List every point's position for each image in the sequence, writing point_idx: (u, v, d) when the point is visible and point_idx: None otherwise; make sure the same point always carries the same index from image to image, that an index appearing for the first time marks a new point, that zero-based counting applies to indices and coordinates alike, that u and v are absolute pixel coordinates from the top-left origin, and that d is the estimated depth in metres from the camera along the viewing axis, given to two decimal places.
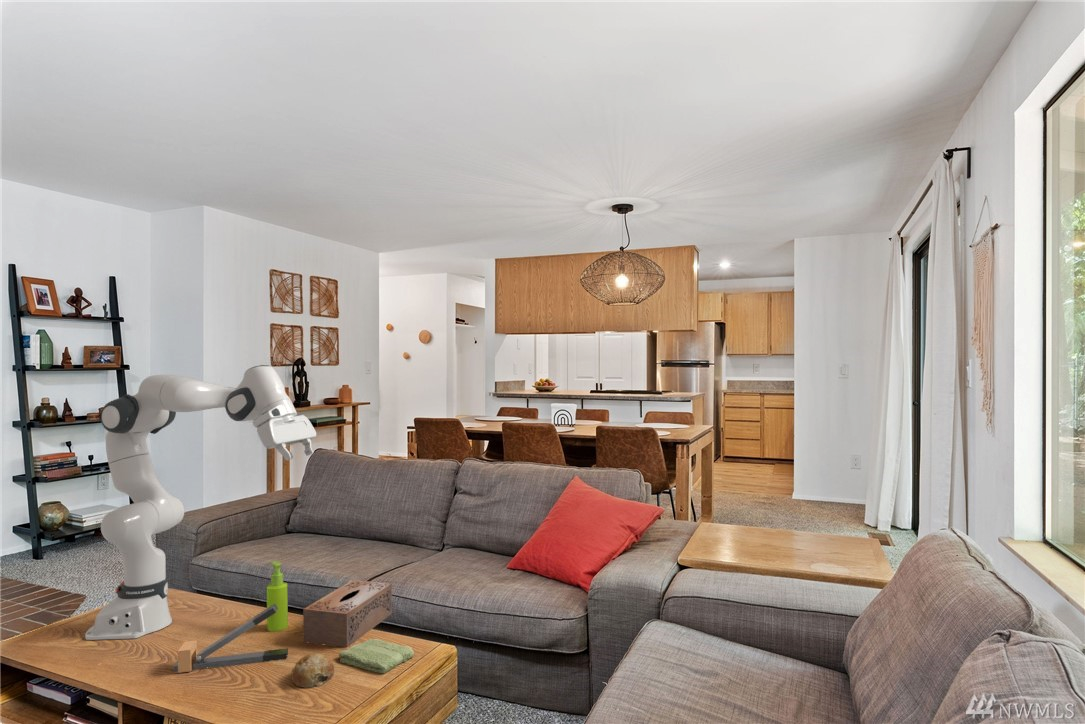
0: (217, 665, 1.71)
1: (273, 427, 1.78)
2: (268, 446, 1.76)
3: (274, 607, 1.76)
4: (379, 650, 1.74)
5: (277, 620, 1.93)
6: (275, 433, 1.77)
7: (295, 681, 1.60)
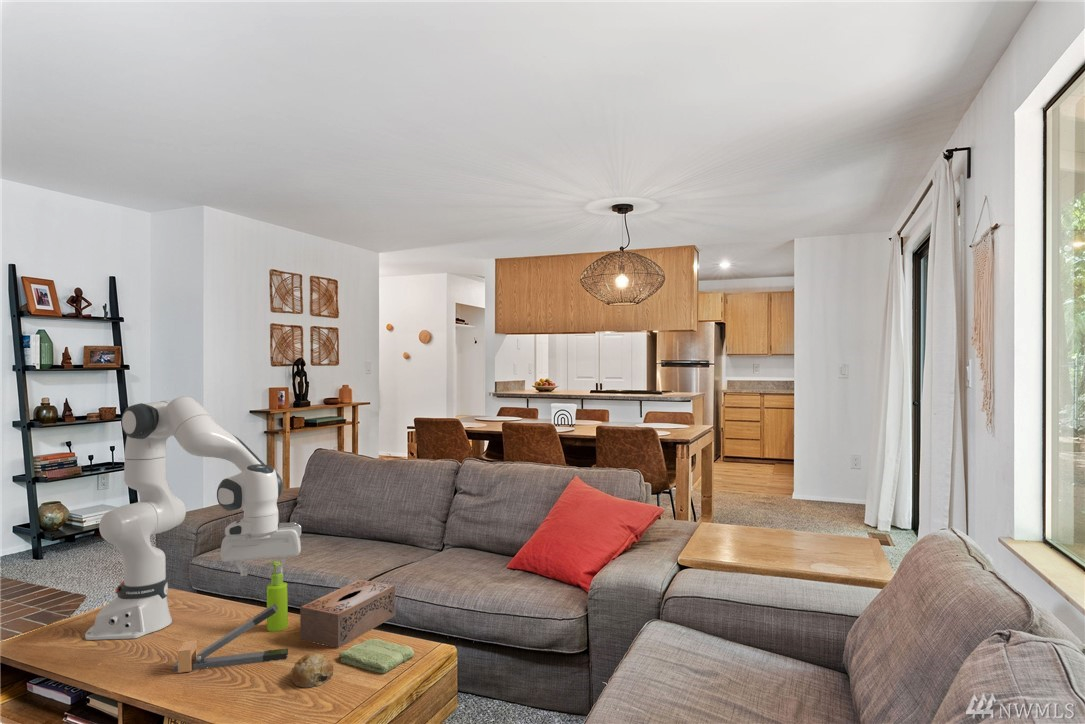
0: (217, 665, 1.71)
1: (229, 543, 1.71)
2: None
3: (274, 607, 1.76)
4: (379, 650, 1.74)
5: (277, 620, 1.93)
6: (227, 551, 1.71)
7: (294, 681, 1.60)
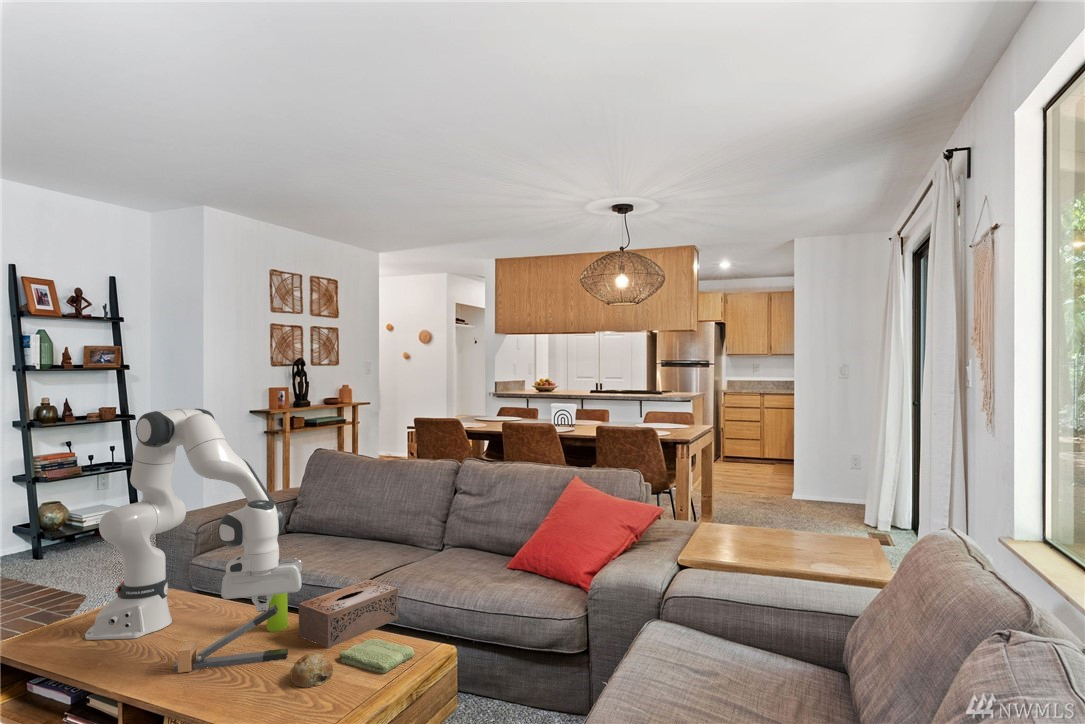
0: (217, 665, 1.71)
1: (230, 580, 1.71)
2: None
3: (275, 608, 1.76)
4: (380, 650, 1.74)
5: (277, 620, 1.93)
6: (228, 588, 1.71)
7: (294, 681, 1.60)
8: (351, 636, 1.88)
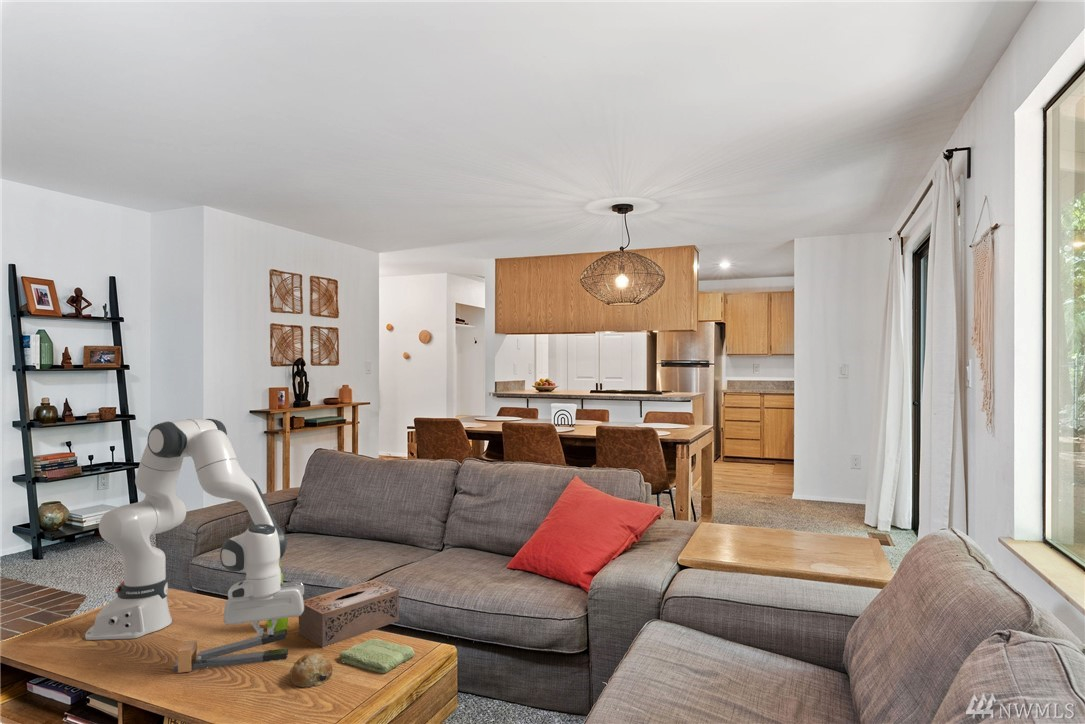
0: (217, 665, 1.71)
1: (232, 606, 1.71)
2: None
3: (285, 633, 1.76)
4: (380, 650, 1.74)
5: None
6: (231, 613, 1.71)
7: (293, 681, 1.60)
8: (347, 636, 1.88)
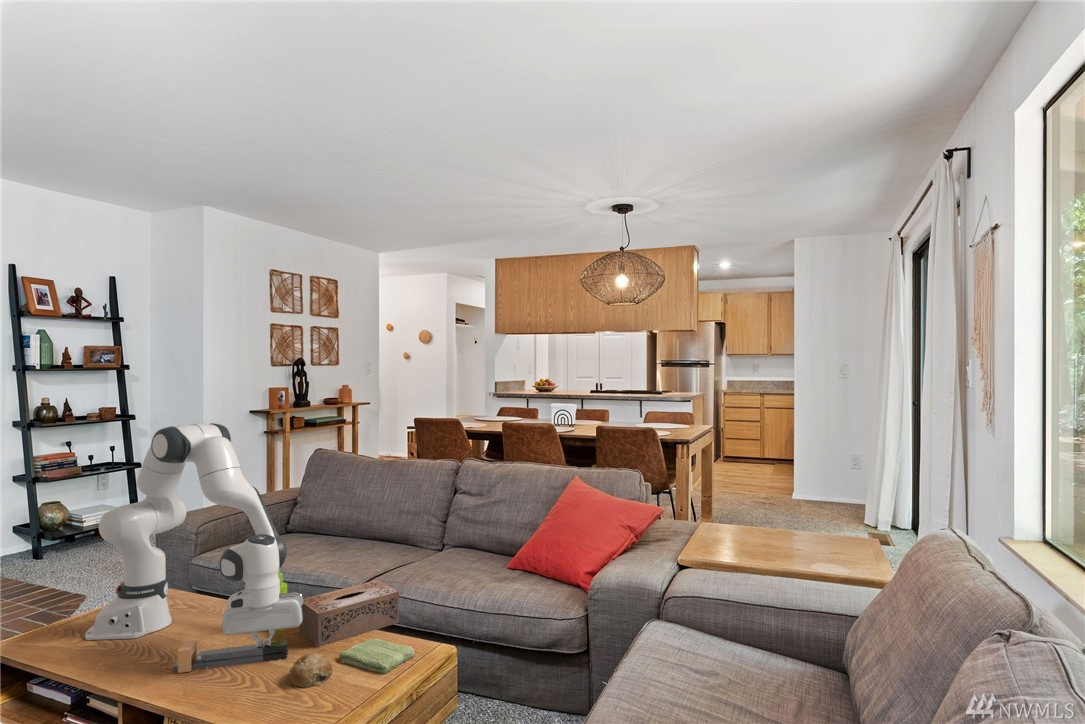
0: (217, 665, 1.71)
1: (231, 616, 1.71)
2: None
3: (286, 644, 1.76)
4: (380, 650, 1.74)
5: None
6: (229, 624, 1.71)
7: (293, 681, 1.60)
8: (345, 637, 1.87)
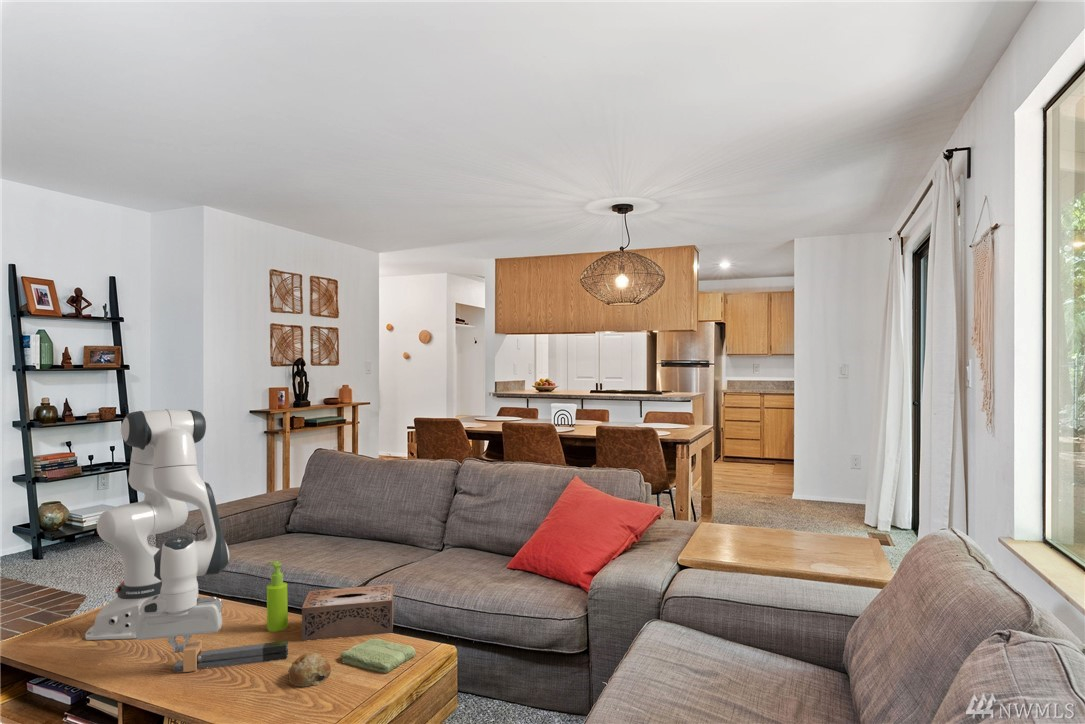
0: (217, 665, 1.71)
1: (144, 621, 1.66)
2: None
3: (286, 644, 1.76)
4: (381, 650, 1.74)
5: (277, 620, 1.93)
6: (143, 628, 1.66)
7: (292, 680, 1.60)
8: (330, 636, 1.88)
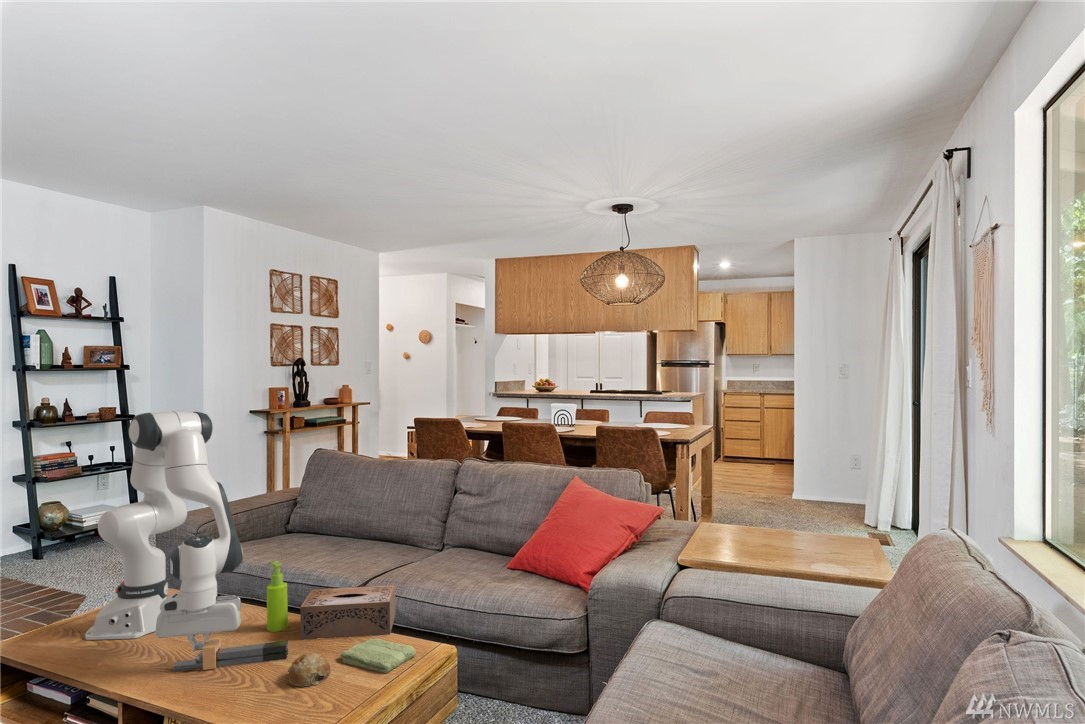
0: (217, 665, 1.71)
1: (164, 619, 1.67)
2: None
3: (286, 644, 1.76)
4: (381, 650, 1.74)
5: (277, 620, 1.93)
6: (163, 626, 1.67)
7: (291, 680, 1.60)
8: (328, 636, 1.88)
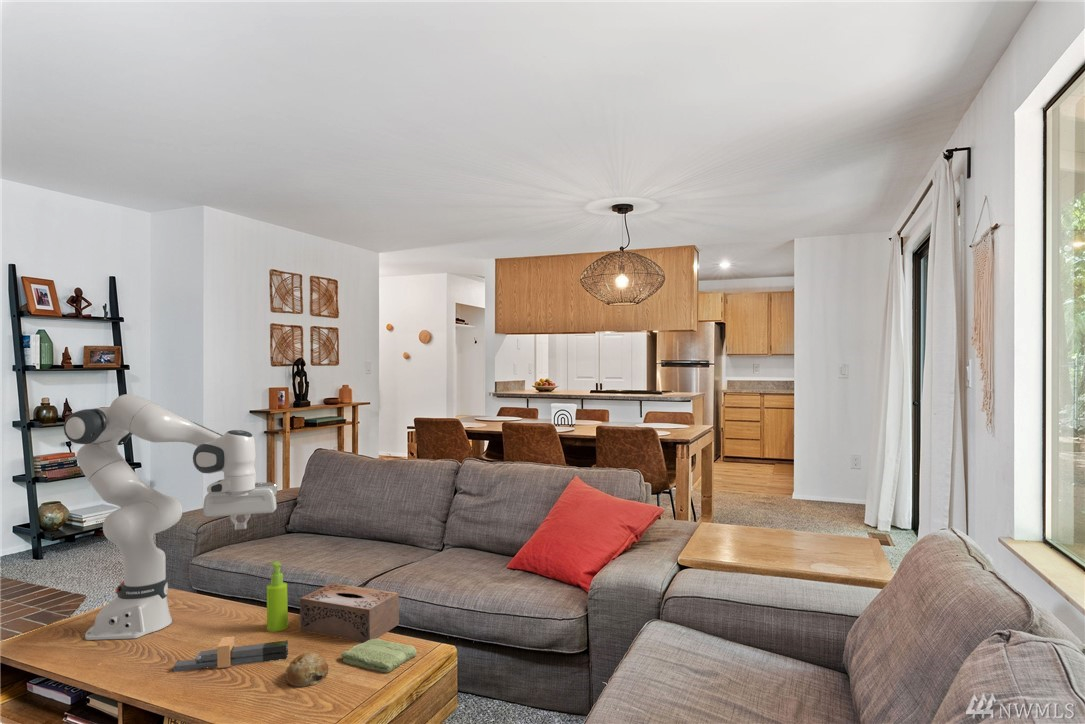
0: None
1: (211, 500, 1.90)
2: None
3: (286, 644, 1.76)
4: (382, 649, 1.75)
5: (277, 620, 1.93)
6: (209, 506, 1.90)
7: (289, 680, 1.60)
8: (321, 631, 1.91)
